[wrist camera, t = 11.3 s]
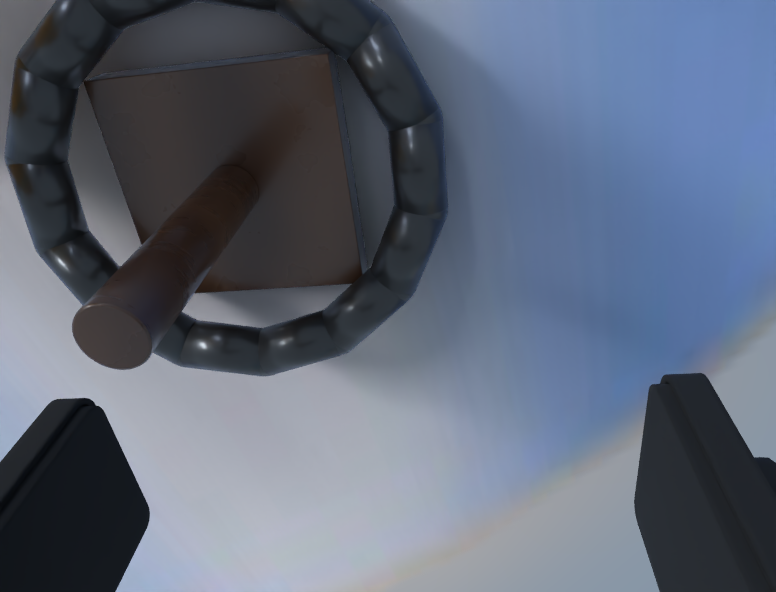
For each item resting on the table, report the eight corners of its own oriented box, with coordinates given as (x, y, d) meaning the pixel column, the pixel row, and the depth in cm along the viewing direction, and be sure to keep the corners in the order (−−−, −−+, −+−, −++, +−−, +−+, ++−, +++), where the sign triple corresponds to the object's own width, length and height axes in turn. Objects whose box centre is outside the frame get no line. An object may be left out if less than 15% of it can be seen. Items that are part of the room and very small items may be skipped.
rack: (172, 279, 28) (21, 471, 18) (102, 72, 23) (-153, 179, 13) (368, 266, 26) (321, 465, 17) (334, 46, 22) (243, 142, 12)
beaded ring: (97, 375, 27) (75, 400, 25) (-38, -38, 21) (-80, -45, 19) (454, 347, 26) (459, 370, 25) (428, -91, 20) (431, -104, 18)
